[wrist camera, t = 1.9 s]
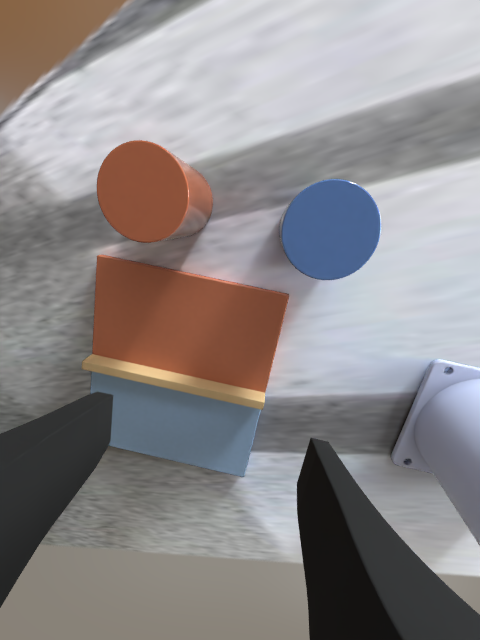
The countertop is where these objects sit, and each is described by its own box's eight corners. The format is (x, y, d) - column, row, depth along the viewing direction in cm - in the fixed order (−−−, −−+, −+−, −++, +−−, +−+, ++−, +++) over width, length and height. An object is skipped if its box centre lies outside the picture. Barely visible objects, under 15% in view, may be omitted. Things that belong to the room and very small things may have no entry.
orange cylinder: (218, 171, 18) (195, 150, 12) (207, 243, 19) (182, 251, 14) (149, 158, 18) (98, 131, 13) (143, 230, 19) (94, 232, 14)
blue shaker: (358, 199, 17) (395, 189, 12) (338, 270, 19) (363, 289, 13) (287, 185, 18) (294, 169, 12) (272, 256, 19) (271, 269, 14)
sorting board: (288, 294, 19) (290, 300, 18) (244, 471, 24) (242, 491, 22) (101, 254, 20) (85, 257, 18) (92, 435, 24) (78, 452, 22)
